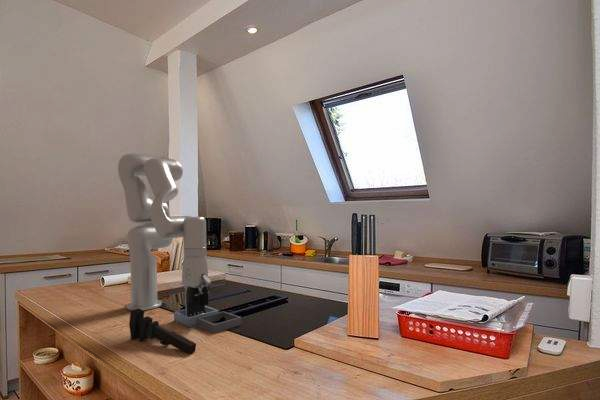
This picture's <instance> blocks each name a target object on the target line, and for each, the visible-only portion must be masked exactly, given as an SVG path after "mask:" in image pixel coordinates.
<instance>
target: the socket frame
mask: <svg viewBox="0 0 600 400" xmlns="http://www.w3.org/2000/svg"><path fill="white" fill-rule="evenodd" d="M222 317H224V318H225V321H222V322H219V321H221V320H220V319H221V318H222ZM242 318H243V317H242V316H238V315H236V314H234V313H230V312H228V311H227V312H226V311H219V313H215V314H211V315H208V316H204V317H200V318H197V325H196V326H197V327H198V328H201V329H203V330H206V331H208V332H211V333H212V334H217V333H220V332H222V331H227V330H230V329H233V328H236V327H240V326H242V325H243V323H242ZM216 322H217V323H216Z"/></svg>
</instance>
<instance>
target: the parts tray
mask: <svg viewBox="0 0 600 400" xmlns="http://www.w3.org/2000/svg"><path fill="white" fill-rule="evenodd" d="M205 312H206V313H204V314H200V315H196V316H192V317H188V316H186V309H181V310H176V311H174V312H173V321H174V322H176V323H178V324H179V325H183V326H185V327H187V328H192V327H195V326H197V318H200V317H204V316H208V315H211V314H215V313H219V312H220V310H218V309H215V308H213V307H210V306H207V305H205Z"/></svg>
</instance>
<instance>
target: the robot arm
mask: <svg viewBox="0 0 600 400" xmlns="http://www.w3.org/2000/svg"><path fill="white" fill-rule="evenodd" d="M182 166H183V165H181V163H180V162H179V161H178V160H176V159H174V158H173V159H172V158H169V157H166V156H165V157H164V156H161V155H154V154H145V153H135V152H134V153H126V154H123V155H122V156H121V157H120V159H119V160H118V163H117V174H118V178H119V181H120V183H121V186H122V187H123V193H124V198H125V204H126V205H125V206H126V211H127V217H128V219H129V221H130V222H132V223H135V224H141V223H143V224H144V223H145V225H137V226H135V227H132V228H131V229H129V230H128V232H127V234H126V242H127V246H128V252H129V260H130V261H129V262H130V264H129V266H130V267H129V268H130V300H131V301H130V302H129V303H127V305H126V310H128V311H131V310H135V309H138V308H139V309H141V310H143V311H148V310H152V309H156V308H159V307H161V306H162V304H163V303H162V301H161V300H160V299H158V262H157V257H156V256H155V254H154V253H153V252H152V250H155V249H164V248H167V247H169V246H171V245H172V243H173V240H174V239H175V238H177V239H178V238H179V239H180V238H183V261H182V271H181V272H182V273H181V274H182V275H181V283H182V285H183V289H184V293H183V294H184V299H185V289H186V287H187V286H188V287H192V288H197V287H198V289H199V292H200V294H199V306H207V305H209V293H210V289H211V284H212V281H211V280H210V279H209V271H208V270H209V269H208V268H209V267H208V260H207V257H208V254H207V253H208V252H207V219H206V218H205V217H203V216H190V215H178V216H177V215H175V216H174V215H172V216H171V212H170V208H169V206H168V202H170V201H172V200H174V199H175V197H176V196H177V195H178V194H179V189H178V186H177V184H176V182H175V181H179V180H180V179H182V177H183V173H184V171H183V170H184V169H183V167H182ZM139 176H144V177H145V176H146V179H147V181H148V184H149V186H150V188H151V191H152V193H153V195H154V198H150V196H149V192H148V187H147V185H146V183H144V180H142V179H141V178H140V177H139ZM146 223H152V224H148V225H147V224H146ZM202 287H204V288H203V290H202Z"/></svg>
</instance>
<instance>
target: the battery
mask: <svg viewBox="0 0 600 400" xmlns="http://www.w3.org/2000/svg"><path fill="white" fill-rule="evenodd" d="M203 288H204V287H202V290H203ZM199 294H200V292H199V289H198V287H197V288H192V287H188V286H187V287H186V289H185V298H184V305H185V306H184V307H185V309H186V316H188V317H192V316H196V315H200V314H204V313H205V306H206V305H205V306H199Z"/></svg>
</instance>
